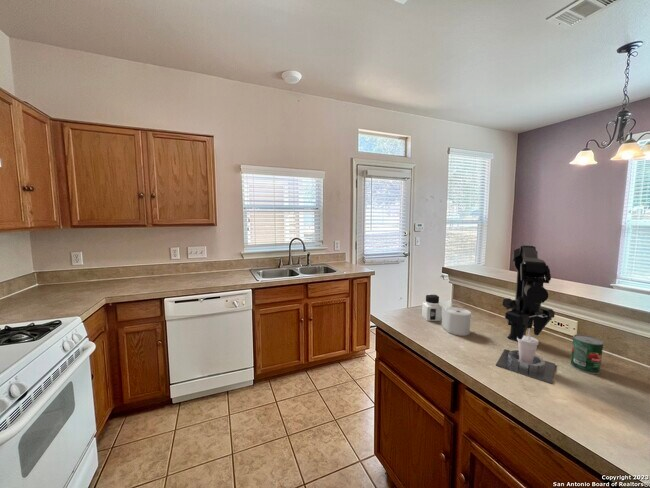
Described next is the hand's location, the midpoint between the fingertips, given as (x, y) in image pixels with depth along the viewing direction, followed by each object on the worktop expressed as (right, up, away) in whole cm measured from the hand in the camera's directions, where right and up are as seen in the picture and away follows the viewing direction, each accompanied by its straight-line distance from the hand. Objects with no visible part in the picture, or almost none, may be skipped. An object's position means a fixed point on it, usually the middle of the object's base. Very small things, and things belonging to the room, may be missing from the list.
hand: (528, 336), depth 99 cm
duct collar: (0, -11, +1) cm, 11 cm away
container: (-17, -6, +47) cm, 51 cm away
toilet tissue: (-11, -8, +31) cm, 34 cm away
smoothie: (0, -11, +1) cm, 11 cm away
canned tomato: (+21, -11, 0) cm, 24 cm away
